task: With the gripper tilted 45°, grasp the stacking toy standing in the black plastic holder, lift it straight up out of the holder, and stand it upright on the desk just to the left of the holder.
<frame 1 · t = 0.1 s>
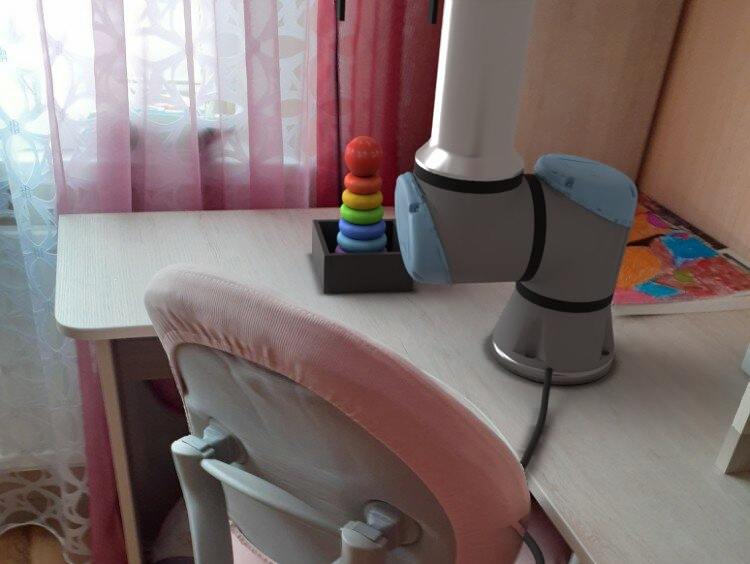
hand: (386, 21, 123), 28 cm above the table, tool pointing down, fingers open, 13 cm apart
holder: (360, 272, 122), on the table
stacking toy: (360, 274, 122), resting in holder
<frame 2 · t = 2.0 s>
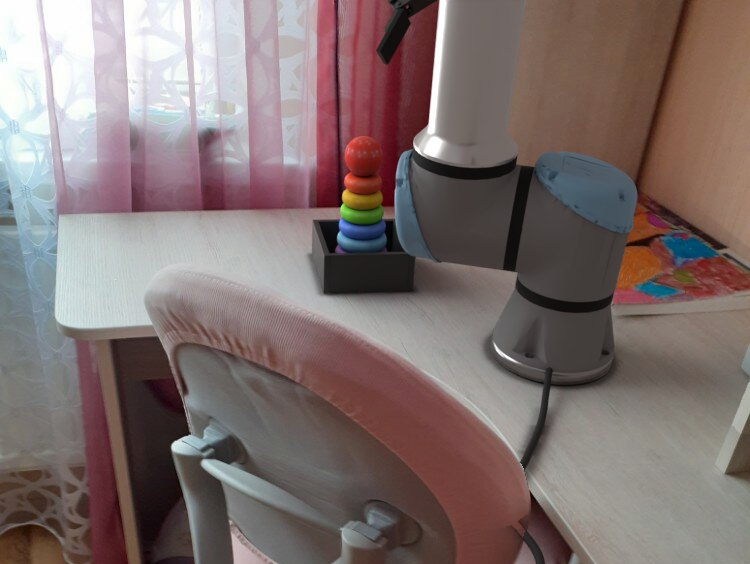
hand: (421, 68, 112), 26 cm above the table, tool tilted 45°, fingers open, 13 cm apart
nothing on the table moved.
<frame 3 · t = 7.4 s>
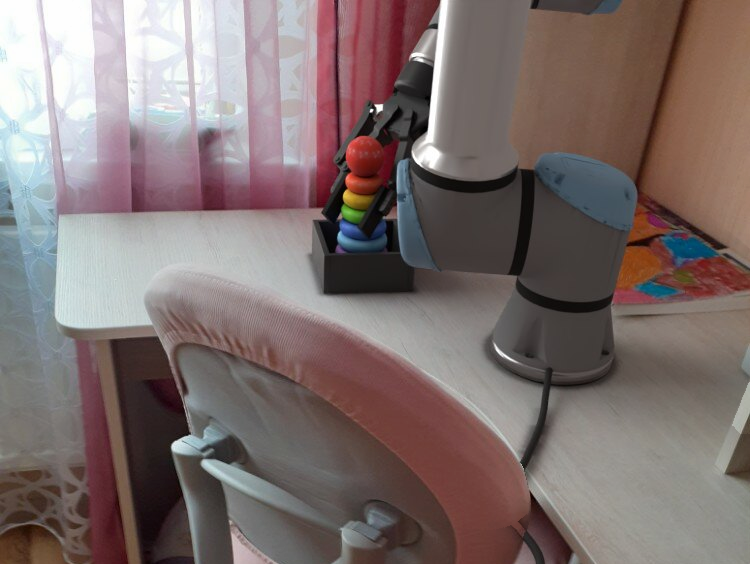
hand: (345, 225, 115), 8 cm above the table, tool tilted 45°, fingers closed on stacking toy, 6 cm apart
stacking toy: (360, 273, 122), resting in holder, touching gripper
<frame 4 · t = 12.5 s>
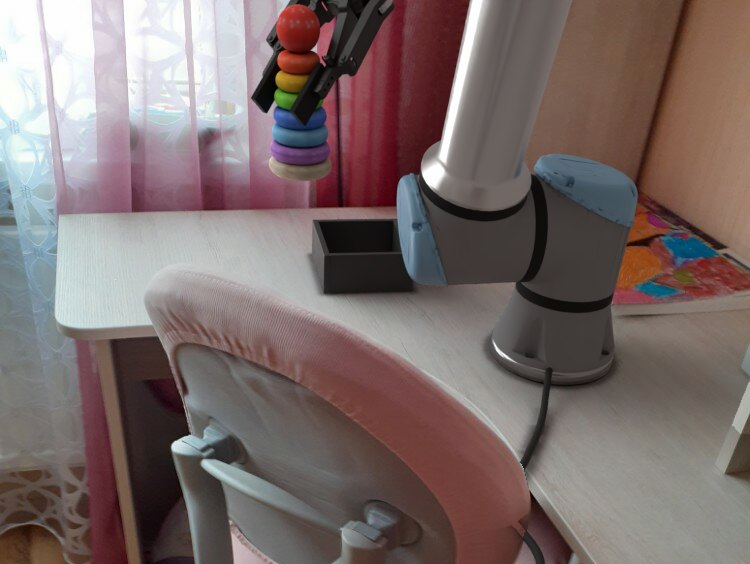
hand: (278, 111, 101), 23 cm above the table, tool tilted 45°, fingers closed on stacking toy, 6 cm apart
stacking toy: (300, 174, 108), point 15 cm above the table, touching gripper
when the fingers open (8 cm above the table, at t = 17.5 s): stacking toy stays where it is, on the table.
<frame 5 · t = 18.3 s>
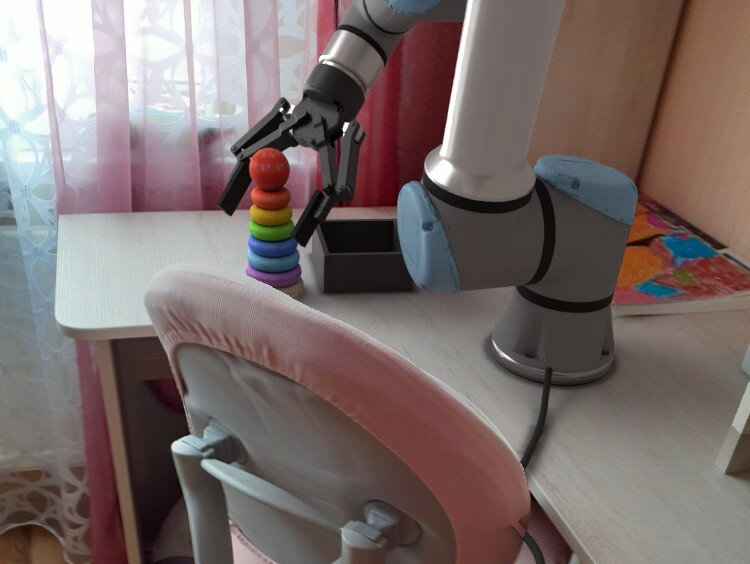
hand: (259, 225, 108), 10 cm above the table, tool tilted 45°, fingers open, 13 cm apart
stacking toy: (274, 292, 116), on the table
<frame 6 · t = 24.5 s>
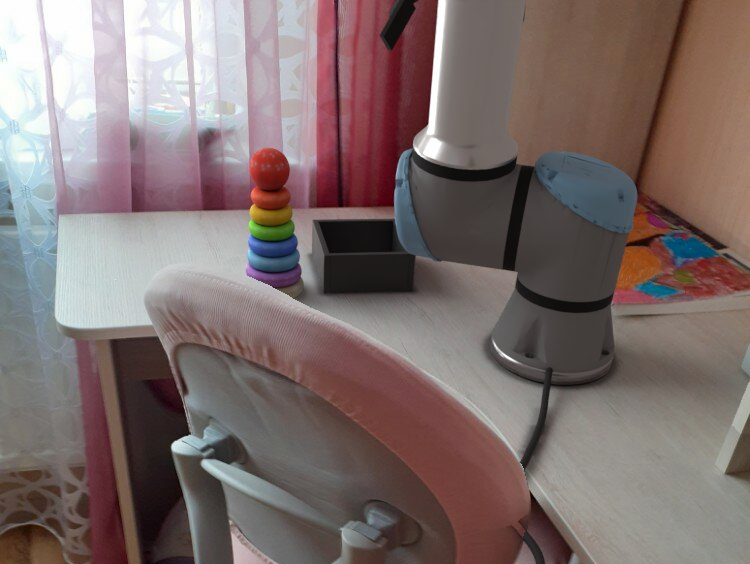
hand: (425, 53, 110), 28 cm above the table, tool tilted 45°, fingers open, 13 cm apart
nothing on the table moved.
at the end: stacking toy inside the target area (0.6 cm from its centre), on the table; stacking toy tilted 0°; the gripper is holding nothing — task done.
